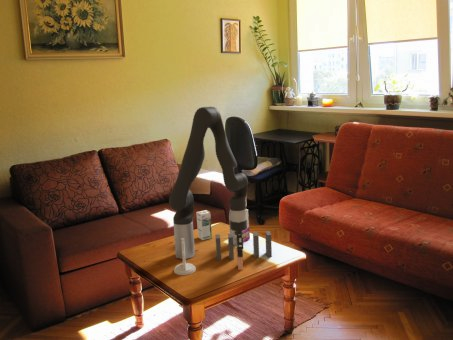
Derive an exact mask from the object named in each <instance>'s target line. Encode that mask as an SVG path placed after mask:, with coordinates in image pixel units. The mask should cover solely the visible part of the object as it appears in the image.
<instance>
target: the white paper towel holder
mask: <svg viewBox="0 0 453 340" xmlns="http://www.w3.org/2000/svg"><path fill="white" fill-rule="evenodd" d="M181 241H182V258H183V259H182V263H179V264H177V265H176V266H175V267H174V269H173V272H174V274H175V275H177V276H188V275H192V274H194V273H195V272H196V269H197V267H196V266H195V265H194V264H193V263H190V262H186V260H187V259H185V244H184V238H181Z"/></svg>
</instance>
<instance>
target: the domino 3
mask: <svg viewBox="0 0 453 340" xmlns="http://www.w3.org/2000/svg"><path fill="white" fill-rule="evenodd" d="M239 247H241V245H240V246H239ZM236 260H237V261H236V262H237V270H239V271H242V270H244V265H243V263H244V262H243V260H244V259H243V257H238V251H237V250H236Z"/></svg>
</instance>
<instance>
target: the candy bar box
mask: <svg viewBox="0 0 453 340" xmlns="http://www.w3.org/2000/svg"><path fill="white" fill-rule="evenodd" d="M246 214H247V229H245V230H243V234H244V237H243V241H244V243H245V242H247V241H249V240H250V239H251V234H250V232H251V231H250V217H249V215H250V214H249V209H247V208H246ZM228 220H229V222H228V223H229V226H230V213H229V214H228ZM234 232H235V231H233V230H231V229H230V228H229V234H232V235H233V246H236V241H235V236H234Z"/></svg>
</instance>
